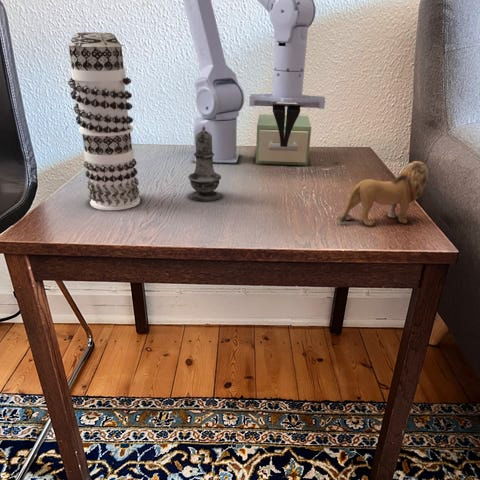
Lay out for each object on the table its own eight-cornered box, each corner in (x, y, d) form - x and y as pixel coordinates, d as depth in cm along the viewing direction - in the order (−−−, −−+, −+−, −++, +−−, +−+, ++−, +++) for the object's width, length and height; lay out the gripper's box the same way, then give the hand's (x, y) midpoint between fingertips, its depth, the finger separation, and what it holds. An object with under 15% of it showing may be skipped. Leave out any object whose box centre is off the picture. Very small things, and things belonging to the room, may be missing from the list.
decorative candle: (112, 190, 86) (91, 31, 72) (153, 199, 83) (139, 33, 69) (76, 204, 79) (45, 32, 66) (119, 214, 76) (96, 34, 62)
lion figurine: (406, 210, 80) (418, 156, 75) (426, 221, 76) (440, 164, 71) (331, 219, 76) (338, 163, 71) (348, 231, 72) (357, 172, 67)
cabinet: (307, 165, 104) (311, 126, 99) (255, 163, 104) (257, 125, 100) (304, 151, 115) (307, 115, 111) (257, 149, 116) (259, 114, 111)
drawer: (306, 168, 99) (309, 136, 95) (257, 166, 99) (258, 135, 96) (303, 149, 113) (305, 121, 109) (260, 147, 113) (261, 120, 110)
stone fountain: (225, 193, 86) (226, 124, 79) (214, 203, 81) (213, 130, 75) (196, 189, 88) (194, 121, 81) (183, 199, 83) (179, 127, 76)
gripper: (249, 71, 84) (247, 148, 92) (329, 73, 84) (321, 151, 91) (251, 67, 90) (248, 140, 98) (326, 69, 90) (318, 143, 97)
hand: (283, 145), depth 95 cm, fingers closed
